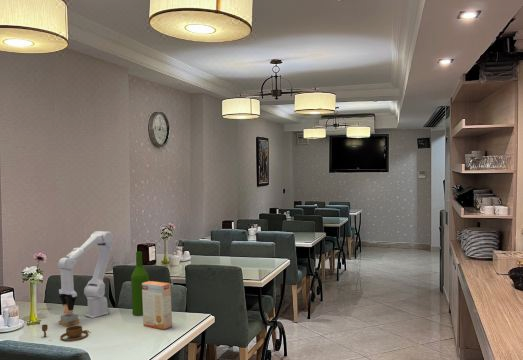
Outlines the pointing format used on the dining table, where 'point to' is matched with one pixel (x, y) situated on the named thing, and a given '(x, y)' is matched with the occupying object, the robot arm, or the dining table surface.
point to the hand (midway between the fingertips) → (68, 309)
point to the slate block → (69, 317)
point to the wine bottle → (138, 285)
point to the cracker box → (157, 304)
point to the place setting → (70, 333)
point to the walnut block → (69, 323)
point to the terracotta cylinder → (66, 309)
